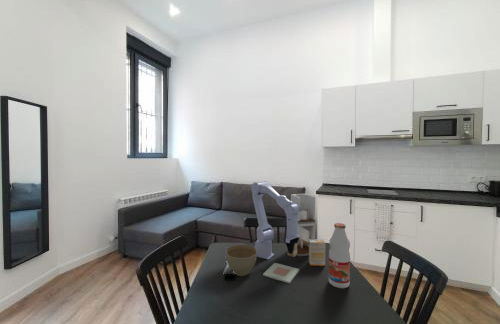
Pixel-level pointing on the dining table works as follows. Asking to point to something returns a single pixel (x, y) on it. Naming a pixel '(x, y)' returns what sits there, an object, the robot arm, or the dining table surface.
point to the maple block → (293, 251)
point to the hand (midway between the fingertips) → (292, 251)
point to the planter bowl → (241, 259)
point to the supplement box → (316, 252)
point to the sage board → (281, 272)
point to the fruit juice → (339, 257)
